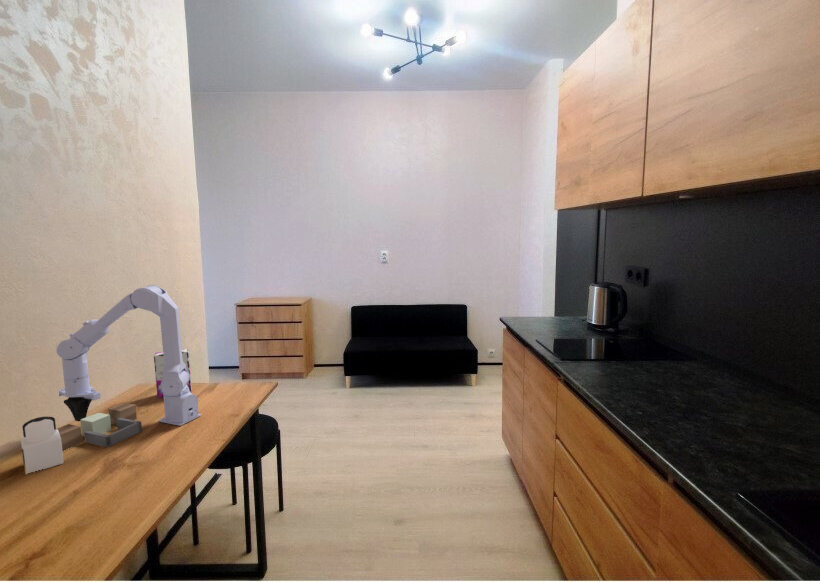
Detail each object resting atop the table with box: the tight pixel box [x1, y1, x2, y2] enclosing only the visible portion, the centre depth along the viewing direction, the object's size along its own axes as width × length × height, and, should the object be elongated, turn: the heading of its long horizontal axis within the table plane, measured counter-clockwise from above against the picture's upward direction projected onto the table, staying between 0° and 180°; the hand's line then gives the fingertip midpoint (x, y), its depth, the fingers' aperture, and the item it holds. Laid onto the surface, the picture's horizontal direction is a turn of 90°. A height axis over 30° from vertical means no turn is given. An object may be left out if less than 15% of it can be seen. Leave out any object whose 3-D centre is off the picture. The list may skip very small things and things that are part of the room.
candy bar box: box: [153, 348, 193, 399], centre depth 147 cm, size 11×5×16 cm, turn 117°
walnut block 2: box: [108, 402, 138, 426], centre depth 124 cm, size 5×5×5 cm
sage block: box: [79, 412, 112, 437], centre depth 117 cm, size 5×5×5 cm
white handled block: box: [20, 416, 65, 475], centre depth 99 cm, size 7×7×12 cm
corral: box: [84, 418, 143, 448], centre depth 114 cm, size 9×10×3 cm
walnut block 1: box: [56, 423, 83, 452], centre depth 109 cm, size 5×5×5 cm
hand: (80, 419), depth 118 cm, fingers closed
